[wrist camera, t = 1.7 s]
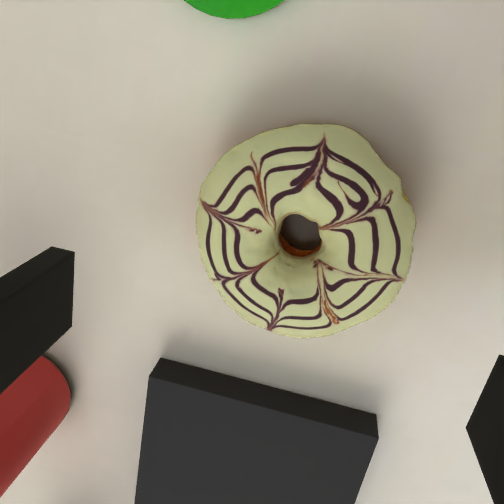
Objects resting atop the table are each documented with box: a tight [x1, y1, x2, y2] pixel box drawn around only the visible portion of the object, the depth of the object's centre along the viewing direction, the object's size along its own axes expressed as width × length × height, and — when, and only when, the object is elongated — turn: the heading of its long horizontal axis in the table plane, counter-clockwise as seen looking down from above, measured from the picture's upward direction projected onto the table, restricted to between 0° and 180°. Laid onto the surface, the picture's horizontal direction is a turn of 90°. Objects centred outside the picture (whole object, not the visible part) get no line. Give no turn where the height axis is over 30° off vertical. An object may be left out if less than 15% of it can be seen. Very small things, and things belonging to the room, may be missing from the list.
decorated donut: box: [196, 124, 416, 338], centre depth 23 cm, size 10×11×4 cm
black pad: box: [135, 358, 379, 504], centre depth 31 cm, size 14×14×2 cm
